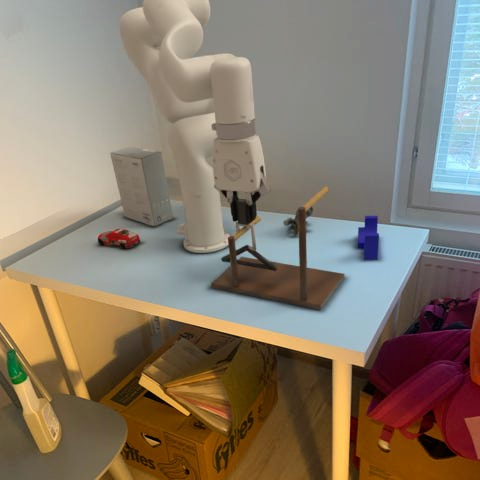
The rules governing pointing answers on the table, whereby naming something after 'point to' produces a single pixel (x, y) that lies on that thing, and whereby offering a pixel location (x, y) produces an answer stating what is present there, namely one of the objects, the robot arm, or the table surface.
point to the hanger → (242, 222)
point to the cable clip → (369, 238)
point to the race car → (119, 238)
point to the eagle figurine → (296, 221)
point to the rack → (281, 273)
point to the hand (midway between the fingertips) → (244, 219)
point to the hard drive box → (142, 185)
